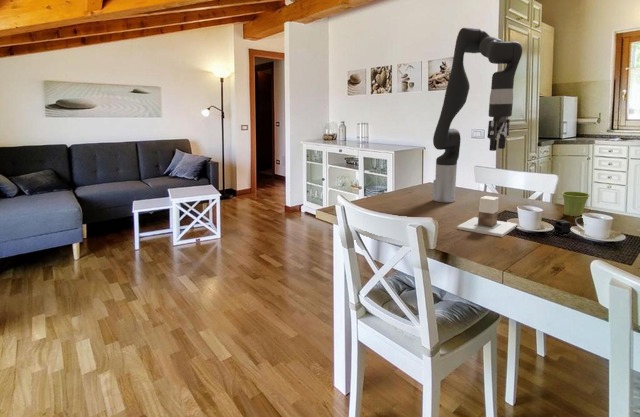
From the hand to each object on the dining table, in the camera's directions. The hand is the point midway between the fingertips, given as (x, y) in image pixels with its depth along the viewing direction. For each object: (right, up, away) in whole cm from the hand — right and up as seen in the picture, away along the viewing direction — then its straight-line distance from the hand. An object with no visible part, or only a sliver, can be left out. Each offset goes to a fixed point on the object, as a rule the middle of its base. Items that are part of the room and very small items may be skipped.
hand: (497, 149), depth 150 cm
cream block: (-2, -22, +2) cm, 22 cm away
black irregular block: (+21, -30, -3) cm, 37 cm away
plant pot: (+38, -24, +18) cm, 49 cm away
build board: (-2, -28, +4) cm, 28 cm away
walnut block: (-2, -27, +4) cm, 27 cm away
